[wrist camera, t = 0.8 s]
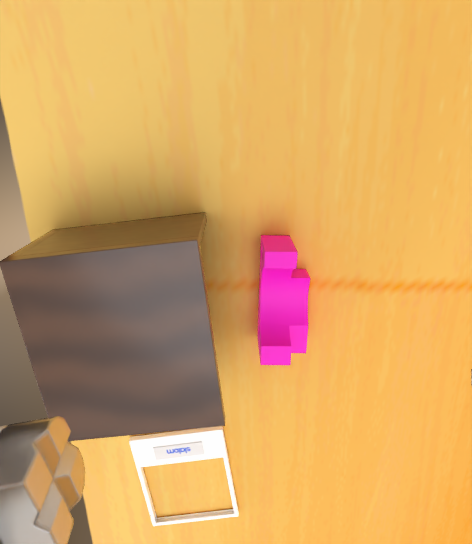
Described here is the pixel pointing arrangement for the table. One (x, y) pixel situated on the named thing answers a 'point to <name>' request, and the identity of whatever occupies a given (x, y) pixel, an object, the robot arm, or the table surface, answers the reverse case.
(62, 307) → the shelf
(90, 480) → the table surface
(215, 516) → the photo frame
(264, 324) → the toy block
